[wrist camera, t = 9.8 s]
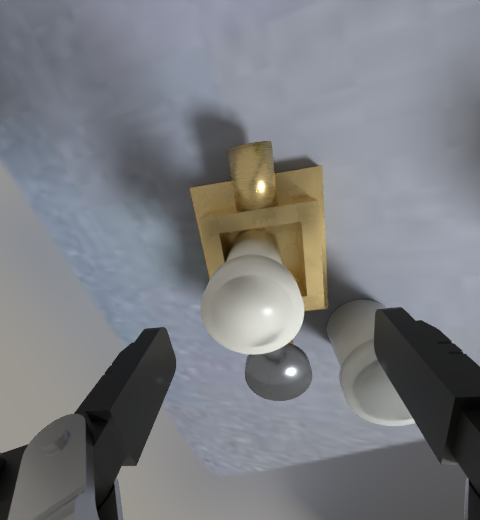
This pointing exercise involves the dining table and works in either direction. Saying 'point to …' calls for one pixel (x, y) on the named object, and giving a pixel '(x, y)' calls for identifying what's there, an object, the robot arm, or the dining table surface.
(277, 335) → the white mushroom shaped knob
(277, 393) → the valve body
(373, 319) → the cylinder
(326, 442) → the dining table surface
